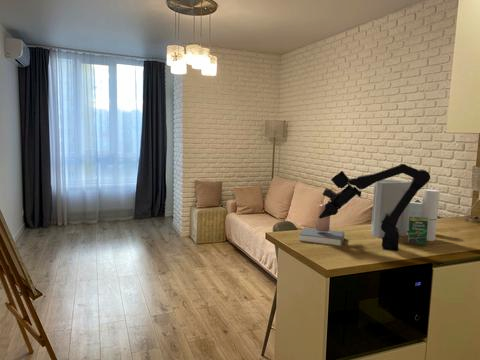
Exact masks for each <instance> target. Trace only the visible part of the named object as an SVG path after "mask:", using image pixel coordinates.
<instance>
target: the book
mask: <svg viewBox="0 0 480 360" xmlns="http://www.w3.org/2000/svg"><path fill="white" fill-rule="evenodd" d="M344 240H345V231H340V230H329V231H327V232H322V231H317V230H316V228H312V227H303V228H302V230H301V231H300V232H299V234H298V241H299V242H307V243H314V244H323V245H330V246H338V247H343V243H344Z"/></svg>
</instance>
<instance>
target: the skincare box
mask: <svg viewBox="0 0 480 360" xmlns="http://www.w3.org/2000/svg"><path fill="white" fill-rule="evenodd" d="M422 203H423V202H417V201H416V202H415V201H410V203H409V214H408V225H407V232H409V217H421V214H422Z"/></svg>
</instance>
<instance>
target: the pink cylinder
mask: <svg viewBox="0 0 480 360" xmlns="http://www.w3.org/2000/svg"><path fill="white" fill-rule="evenodd" d="M326 204H327V203H321V202H320V203H317V206H316V224H315V225H316V226H315V229H316V230H317V231H322V232H327V231H329V230H330V228H331V216H328V217H324V218H321V219H320V218H319V216H320V215H321V214H322V212H323V211H324V210H325V205H326Z"/></svg>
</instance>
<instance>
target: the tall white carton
mask: <svg viewBox="0 0 480 360" xmlns="http://www.w3.org/2000/svg"><path fill="white" fill-rule="evenodd" d="M410 183H411V181H406V180H398V179H396V180H395V179H383V180H380V181H377V182H375V183H374V185H373V186H374V187H373V197H372V211H371V213H372V214H371V225H370V227H371V228H370V232H371V234H372V235H371V236H373V237H376V238H377V239H382V238H383V237H384V234H385V232H384V231H382V229H381V219H382V218H383V217H384V215H385V213H387V214H389V213H391V212H392V210H393V209H394V208H395V206H396V205H397V203H398V202H399V200H400V199H401V198H402V196H403V195H404V193H405V192H406V190H407V189H408V188H409V186H410ZM408 214H409V204H408V205H407V207H406V208H405V210H404V211H403V213H402V214H401V215H400V217H399V219H398V222H397V224H396V227H397V229H398V230H399V237H401V236H403V237H404V236H407V235H408V233H407V232H408V231H407V225H408Z"/></svg>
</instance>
